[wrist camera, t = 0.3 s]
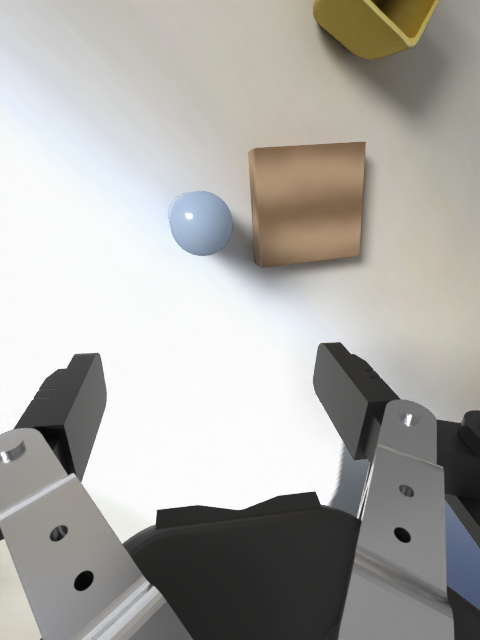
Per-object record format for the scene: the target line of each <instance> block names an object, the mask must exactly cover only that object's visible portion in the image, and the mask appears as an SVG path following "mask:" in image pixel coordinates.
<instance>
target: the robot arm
mask: <svg viewBox="0 0 480 640" xmlns="http://www.w3.org/2000/svg"><path fill="white" fill-rule="evenodd" d="M313 385H314V390H315V393H316V395H317V396H318V398H319V400H320V402H321V403H322V405H323V407H324V409H325V410H326V412H327V414H328V416H329V417H330V419H331V421H332V423H333V424H334V426H335V428H336V430H337V431H338V433H339V435H340V437H341V438H342V440H343V442H344V444H345V445H346V447H347V449H348V451H349V452H350V454H351V456H352V458H353V459H354V460H360V459H368V460H369V462H370V466H369V469H368V473H367V477H366V482H365V486H364V490H363V495H362V499H361V503H360V507H359V512H358V516H357V518H356V517H354V516H353V515H351V514H349V513H346V512H344V511H342V510H339V509H336V508H333V507H330V506H326V505H321V504H320V502H319V499H318V497H317V494H316V492H307V493H299V494H290V495H281V496H277V497H274V498H272V499H269V500H267V501H264V502H262V503H259V504H256V505H254V506H251V507H249V508H246V509H243V510H231V509H224V508H216V507H208V506H200V505H196V506H187V507H179V508H170V509H162V510H157V517H156V524H155V525H153V526H150V527H148V528H146V529H144V530H142V531H140V532H138V533H137V534H135V535H134V536H132V537H131V538H129V539H128V540H127V541H125V542H124V543H123V544H122V543H121V542H120V540H119V539H118V537H117V536H116V534H115V533H114V531H113V530H112V528H111V527H110V525H109V524H108V522H107V521H106V519H105V518H104V516H103V515H102V513H101V512H100V510H99V509H98V508H97V506H96V505H95V503H94V502H93V500H92V499H91V497H90V496H89V494H88V493H87V491H86V490H85V488H84V487H83V485H82V484H81V481H82V478H83V475H84V472H85V469H86V466H87V463H88V460H89V457H90V454H91V450H92V447H93V444H94V441H95V438H96V435H97V432H98V429H99V426H100V423H101V419H102V416H103V413H104V410H105V407H106V399H107V392H106V385H105V379H104V373H103V367H102V361H101V357H100V354H99V353H87V354H75V355H74V356H73V358H72V360H71V361H70V363H69V365H68V367H67V368H66V369H58V370H57V371H55V372H54V373H53V374H51V375H50V376H49V377H47V378H46V379H45V381H44V382H43V384H42V386H41V387H40V389H39V391H38V392H37V393H36V395H35V396H34V400H32V401H31V403H30V404H29V406H28V407H27V409H26V411H25V412H24V414H23V415H22V417H21V418H20V420H19V421H18V423H17V425H16V426H15V428H14V429H13V430H11V431H8V432H5V433H3V434H1V435H0V540H2V539H5V541H6V544H7V546H8V549H9V552H10V554H11V557H12V560H13V562H14V565H15V567H16V570H17V573H18V575H19V578H20V581H21V583H22V586H23V588H24V591H25V594H26V596H27V599H28V602H29V604H30V607H31V609H32V612H33V615H34V617H35V620H36V623H37V625H38V628H39V630H40V633H41V636H42V638H41V639H40V640H480V610H479V609H477V608H476V607H475V606H474V605H472V604H471V603H470V602H468V601H467V600H466V599H464V598H463V597H462V596H460V595H459V594H458V593H456V592H455V591H454V590H452V589H451V588H450V587H448V586H447V585H446V541H445V500H446V501H447V503H448V504H449V505H450V507H451V508H452V510H453V511H454V512H455V514H456V515H457V517H458V518H459V519H460V521H461V522H462V524H463V525H464V526H465V528H466V529H467V531H468V532H469V534H470V535H471V536H472V538H473V539H474V541H475V542H476V543H477V545H478V546H479V548H480V411H469V412H467V413H466V414H465V415H464V418H463V420H462V422H461V423H455V422H449V421H442V420H436V418H435V416H434V415H433V414H432V413H431V412H430V411H429V410H428V409H426V408H425V407H423V406H422V405H420V404H417V403H415V402H412V401H408V400H401V399H400V398H399V397H398V396H397V395H396V394H395V393H394V391H393V390H392V389H391V388H390V387H389V386H388V385H387V384H386V383H385V382H384V381H383V379H382V378H380V376H379V375H378V374H377V373H376V372H375V371H373V368H372V367H371V366H370V365H369V364H368V363H367V362H366V361H365V360H363V359H361V358H360V357H358V356H356V355H355V354H350V353H349V351H348V350H347V349H346V348H345V347H344V346H343V345H342V344H341V343H340V342H336V343H321V344H319V346H318V350H317V357H316V363H315V370H314V376H313Z"/></svg>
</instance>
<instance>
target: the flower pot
mask: <svg viewBox="0 0 480 640" xmlns="http://www.w3.org/2000/svg"><path fill="white" fill-rule="evenodd" d="M439 1H440V0H315V2H314V6H313V15H314V18H315V20H316V21H317V23H318V24H319V25H320V26H321V27H323V28H324V29H325V30H326V31H327V32H329V33H330V34H331V35H332V36H333V37H334V38H335V39H337V40H338V41H339V42H340V43H341V44H342V45H343V46H344V47H346V48H347V49H348V50H349V51H350V52H352V53H353V54H355V55H357V56H359V57H361V58H364V59H369V60H375V59H380V58H383V57H386V56H389V55H392V54H395V53H398V52H401V51H403V50H406V49H409V48H412V47H415V45H416V44H417V42H418V41H419V39H420V37H421V35H422V33H423V31H424V29H425V28H426V26H427V24H428V22H429V20H430V18H431V16H432V14H433V12H434V10H435V9H436V7H437V5H438V3H439Z"/></svg>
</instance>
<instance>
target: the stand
mask: <svg viewBox="0 0 480 640" xmlns="http://www.w3.org/2000/svg"><path fill="white" fill-rule="evenodd" d="M365 144H366V142H351V143H334V144H317V145H300V146H283V147H266V148H255V149H253V150H251V151H249V152H248V154H249V171H250V188H251V205H252V222H253V238H254V255H255V263H256V264H257V265H259V266H260V267H262V268H263V267H271V266H279V265H287V264H295V263H303V262H311V261H319V260H327V259H336V258H344V257H352V256H359V252H360V234H361V216H362V198H363V180H364V162H365Z"/></svg>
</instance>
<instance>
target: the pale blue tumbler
mask: <svg viewBox="0 0 480 640" xmlns="http://www.w3.org/2000/svg"><path fill="white" fill-rule="evenodd" d="M168 219H169V223H170V227H171V231H172V234H173V237H174V239H175V241H176V242H177V243H178V245H179V246H180V247H181V248H182V249H184V250H185V251H187V252H189V253H191V254H194V255H199V256H206V255H211V254H214V253H216V252H217V251H219V250H220V249H222V248H223V247H224V246H225V245H226V243H227V242H228V240H229V238H230V236H231V233H232V227H233V221H232V216H231V213H230V210H229V208H228V206H227V205H226V204H225V202H224V201H223V200H222V199H221V198H219V197H218V196H216V195H215V194H212V193H210V192H205V191H196V192H190V193H184V194H181V195H179V196H178V197H176V198H175V199H174V200H173V201H172V203H171V205H170V207H169V211H168Z"/></svg>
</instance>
